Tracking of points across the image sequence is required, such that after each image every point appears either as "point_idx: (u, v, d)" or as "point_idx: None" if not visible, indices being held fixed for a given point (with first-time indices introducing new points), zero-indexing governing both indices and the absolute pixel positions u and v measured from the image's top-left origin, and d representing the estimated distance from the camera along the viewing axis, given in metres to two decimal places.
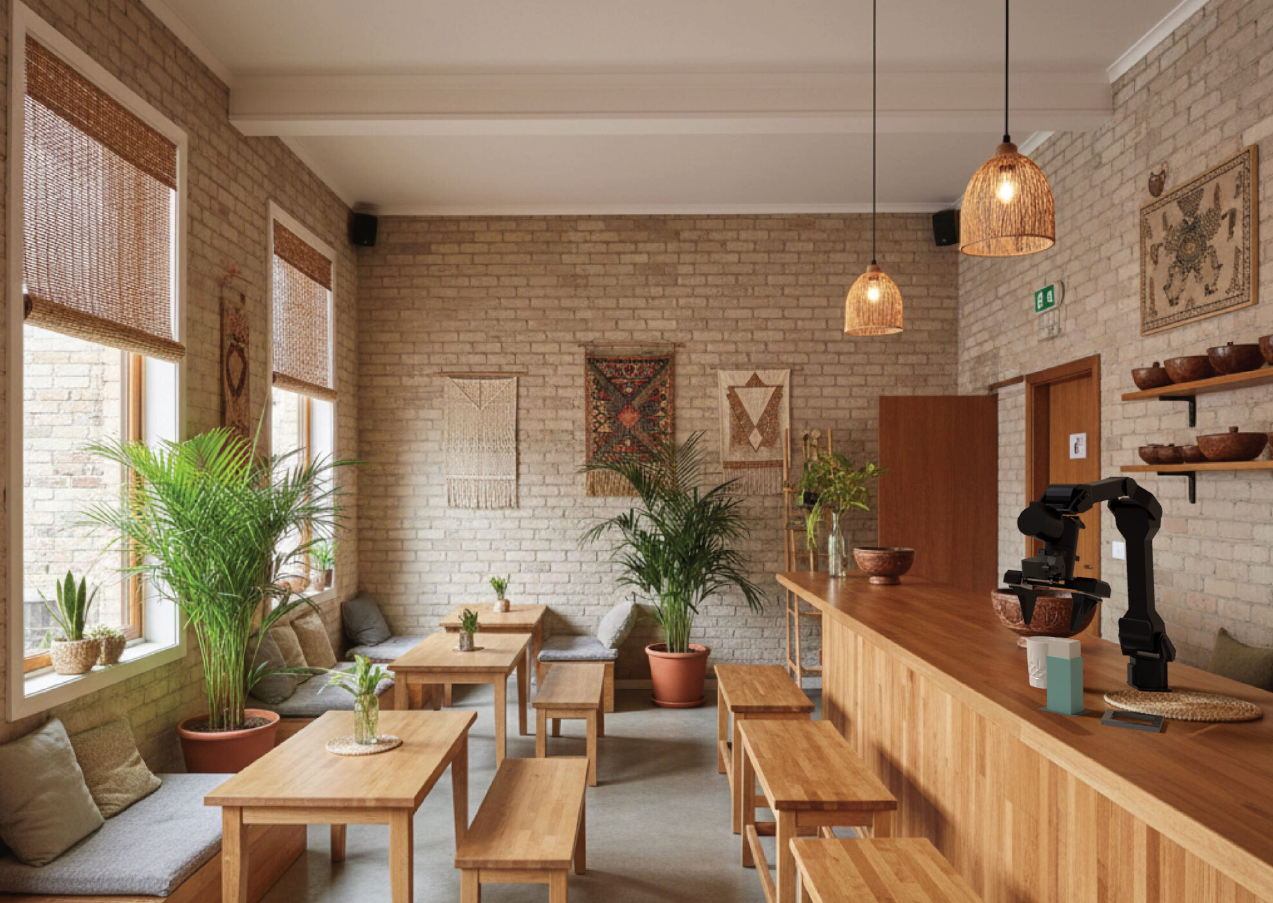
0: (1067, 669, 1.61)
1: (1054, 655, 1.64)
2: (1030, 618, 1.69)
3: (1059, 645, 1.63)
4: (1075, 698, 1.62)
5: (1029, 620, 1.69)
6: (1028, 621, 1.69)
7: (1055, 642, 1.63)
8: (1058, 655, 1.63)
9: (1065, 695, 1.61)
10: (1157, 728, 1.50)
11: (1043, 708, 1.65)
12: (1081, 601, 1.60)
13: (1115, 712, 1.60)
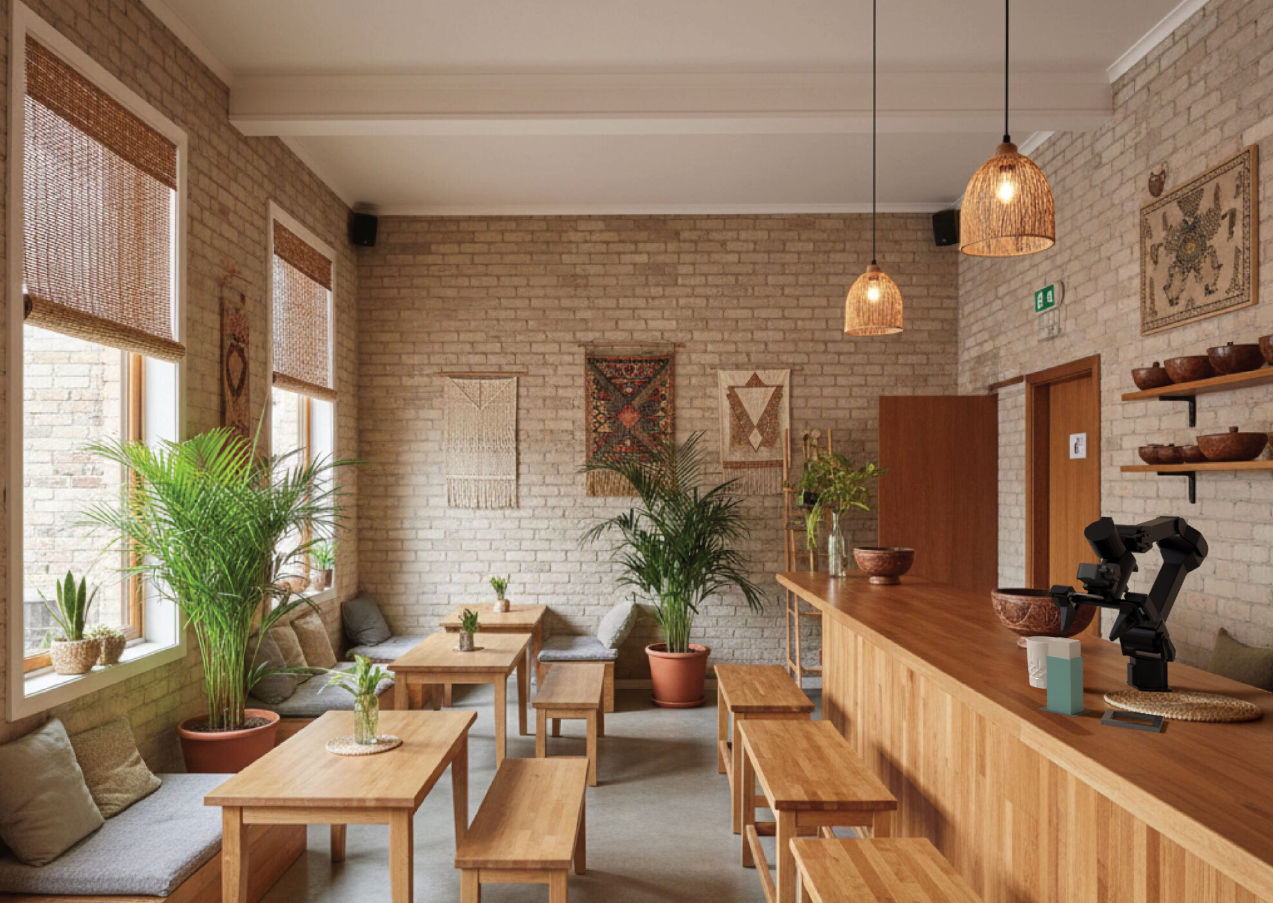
0: (1067, 669, 1.61)
1: (1054, 655, 1.64)
2: (1067, 628, 1.73)
3: (1059, 645, 1.63)
4: (1075, 698, 1.62)
5: (1066, 630, 1.73)
6: (1065, 630, 1.73)
7: (1055, 642, 1.63)
8: (1058, 655, 1.63)
9: (1065, 695, 1.61)
10: (1157, 728, 1.50)
11: (1043, 708, 1.65)
12: (1128, 612, 1.65)
13: (1115, 712, 1.60)
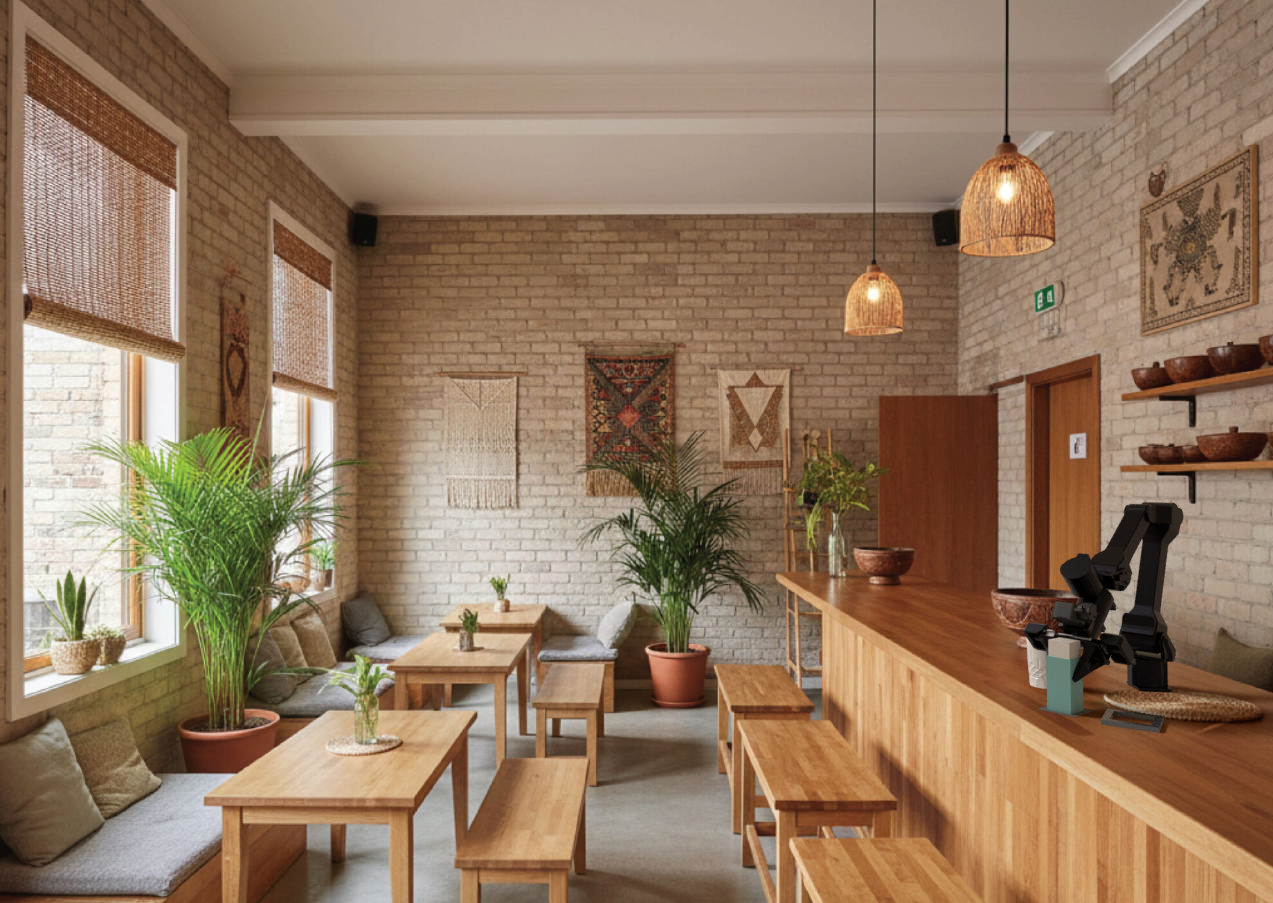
0: (1067, 669, 1.61)
1: (1054, 655, 1.64)
2: None
3: (1059, 645, 1.63)
4: (1075, 698, 1.62)
5: None
6: None
7: (1055, 642, 1.63)
8: (1058, 655, 1.63)
9: (1065, 695, 1.61)
10: (1157, 728, 1.50)
11: (1043, 708, 1.65)
12: (1092, 652, 1.61)
13: (1115, 712, 1.60)
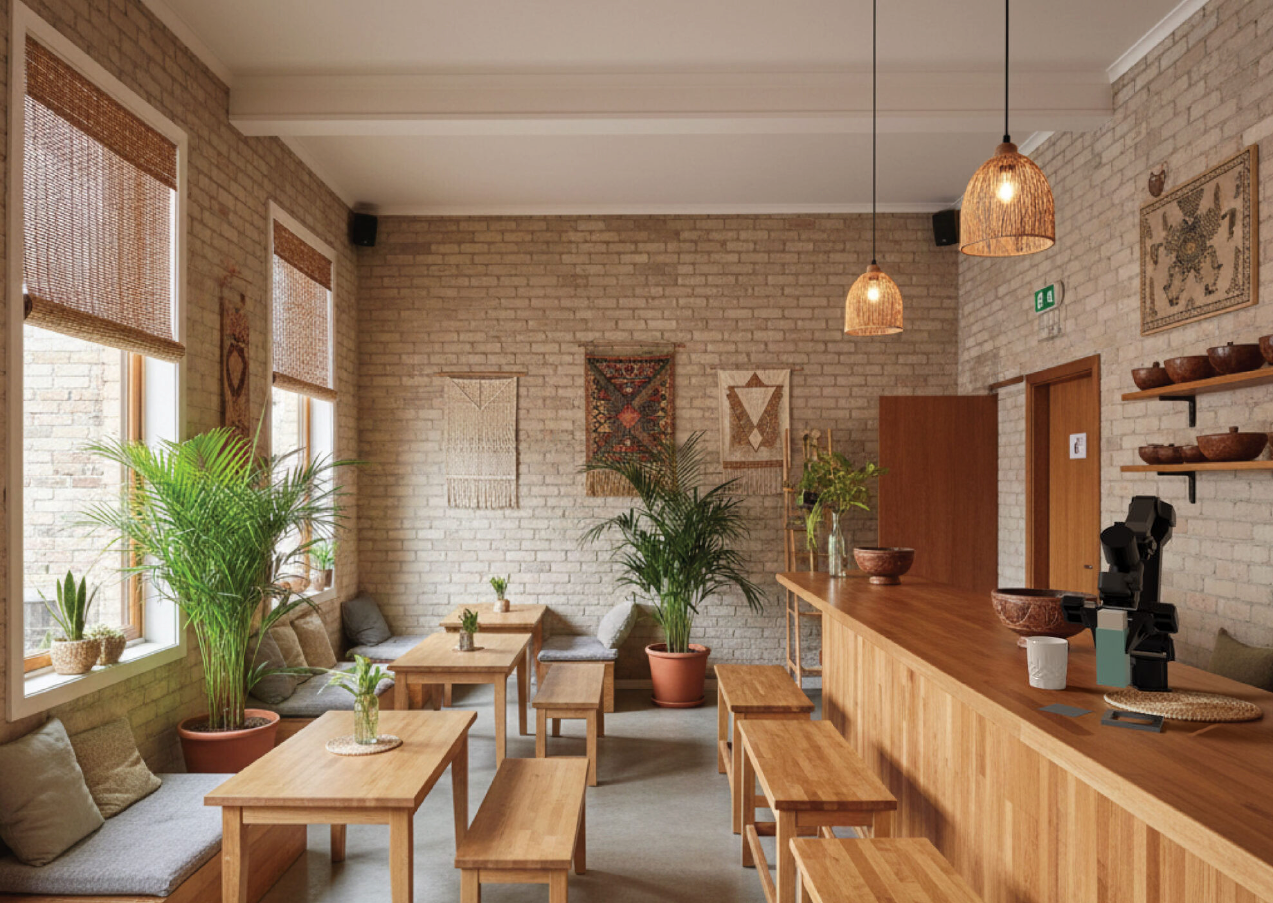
0: (1121, 641, 1.55)
1: (1104, 627, 1.57)
2: None
3: (1111, 616, 1.56)
4: (1126, 670, 1.56)
5: None
6: None
7: (1106, 614, 1.57)
8: (1109, 627, 1.56)
9: (1118, 668, 1.55)
10: (1157, 728, 1.50)
11: (1043, 708, 1.65)
12: (1142, 622, 1.56)
13: (1115, 712, 1.60)
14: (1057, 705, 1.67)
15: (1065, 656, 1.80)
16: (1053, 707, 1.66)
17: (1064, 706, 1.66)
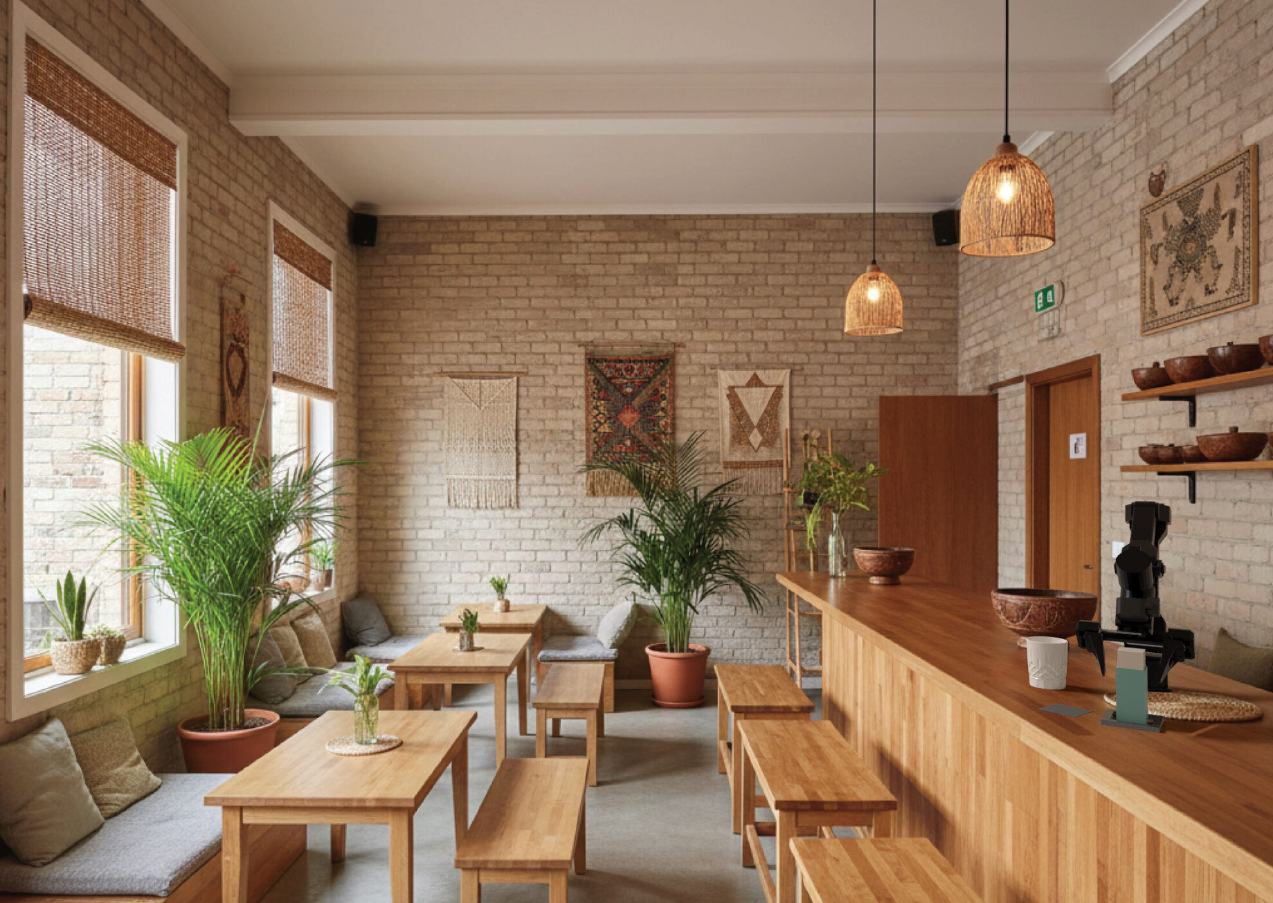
0: (1142, 680, 1.53)
1: (1124, 666, 1.55)
2: (1105, 669, 1.58)
3: (1131, 655, 1.54)
4: (1146, 710, 1.54)
5: (1105, 671, 1.58)
6: (1104, 671, 1.57)
7: (1126, 653, 1.55)
8: (1129, 666, 1.54)
9: (1138, 708, 1.53)
10: (1157, 728, 1.50)
11: (1043, 708, 1.65)
12: (1173, 649, 1.53)
13: (1115, 712, 1.60)
14: (1057, 705, 1.67)
15: (1065, 656, 1.80)
16: (1053, 707, 1.66)
17: (1064, 706, 1.66)
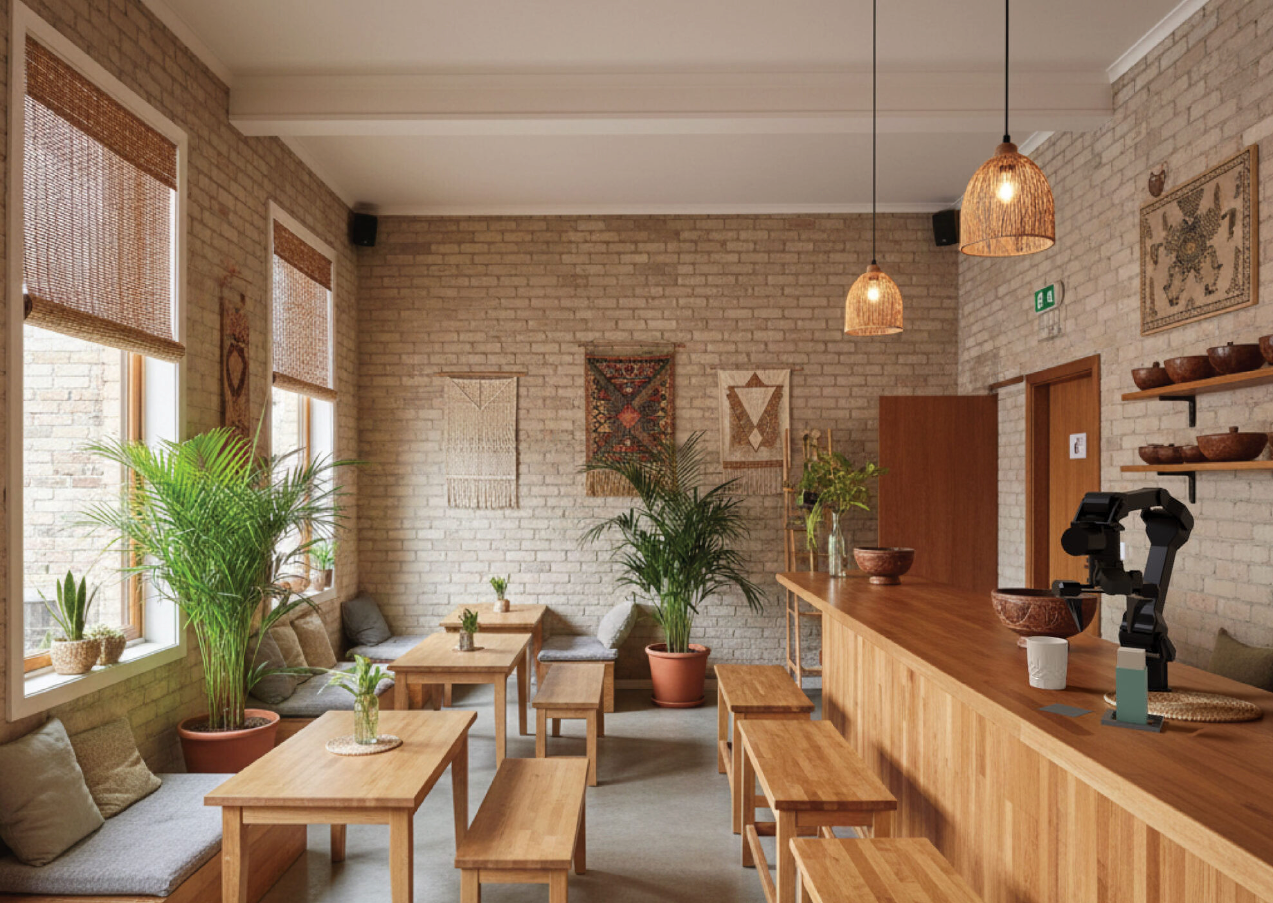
0: (1142, 680, 1.53)
1: (1124, 666, 1.55)
2: None
3: (1131, 655, 1.54)
4: (1146, 710, 1.54)
5: None
6: None
7: (1126, 653, 1.55)
8: (1129, 666, 1.54)
9: (1138, 708, 1.53)
10: (1157, 728, 1.50)
11: (1043, 708, 1.65)
12: (1144, 605, 1.73)
13: (1115, 712, 1.60)
14: (1057, 705, 1.67)
15: (1065, 656, 1.80)
16: (1053, 707, 1.66)
17: (1064, 706, 1.66)
